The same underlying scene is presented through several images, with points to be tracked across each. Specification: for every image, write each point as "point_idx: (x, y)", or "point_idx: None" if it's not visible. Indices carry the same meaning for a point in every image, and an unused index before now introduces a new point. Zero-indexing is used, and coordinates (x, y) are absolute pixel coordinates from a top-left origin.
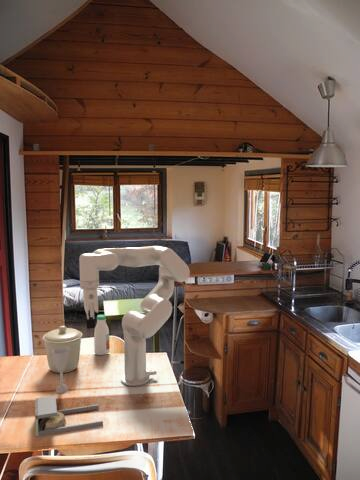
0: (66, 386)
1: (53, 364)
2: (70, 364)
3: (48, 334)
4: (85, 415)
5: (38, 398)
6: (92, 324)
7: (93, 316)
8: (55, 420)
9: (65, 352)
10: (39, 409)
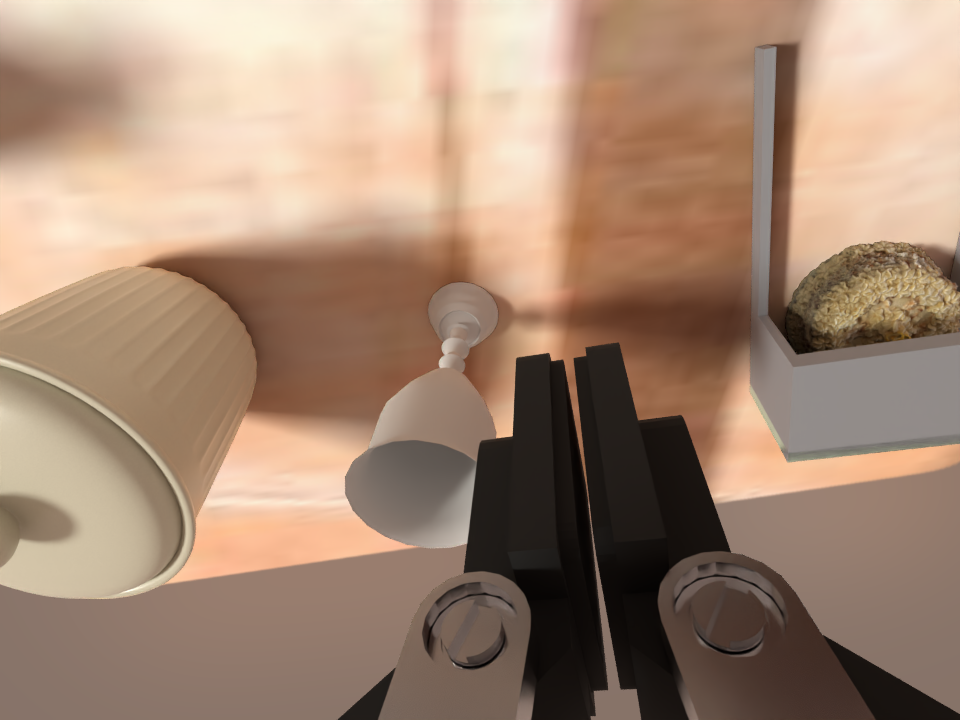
0: (451, 298)
1: (242, 417)
2: (214, 321)
3: (81, 590)
4: (826, 134)
5: (795, 448)
6: (689, 456)
7: (851, 702)
8: (946, 311)
9: (469, 454)
10: (948, 427)
